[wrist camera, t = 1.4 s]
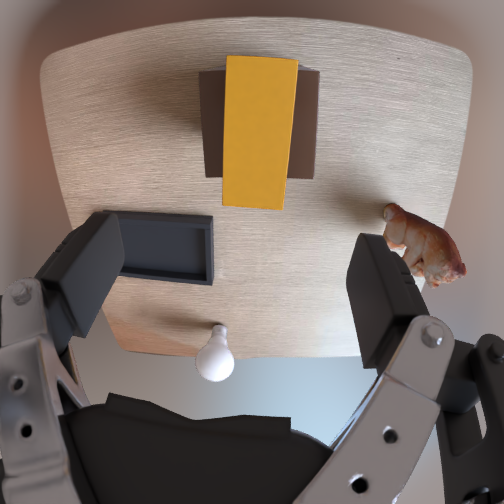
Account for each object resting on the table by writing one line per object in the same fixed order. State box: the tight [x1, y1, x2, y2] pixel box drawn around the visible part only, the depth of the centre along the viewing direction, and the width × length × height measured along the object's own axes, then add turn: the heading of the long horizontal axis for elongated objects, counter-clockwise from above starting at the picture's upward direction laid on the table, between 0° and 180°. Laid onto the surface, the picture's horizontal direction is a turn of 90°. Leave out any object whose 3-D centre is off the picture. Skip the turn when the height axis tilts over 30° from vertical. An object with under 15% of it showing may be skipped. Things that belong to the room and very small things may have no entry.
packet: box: [222, 55, 298, 210], centre depth 21 cm, size 11×4×4 cm, turn 177°
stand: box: [199, 66, 320, 179], centre depth 27 cm, size 9×9×12 cm
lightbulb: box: [195, 325, 234, 382], centre depth 50 cm, size 6×6×11 cm
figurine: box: [383, 204, 467, 288], centre depth 33 cm, size 6×8×15 cm
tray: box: [103, 211, 214, 286], centre depth 44 cm, size 11×17×2 cm, turn 87°
